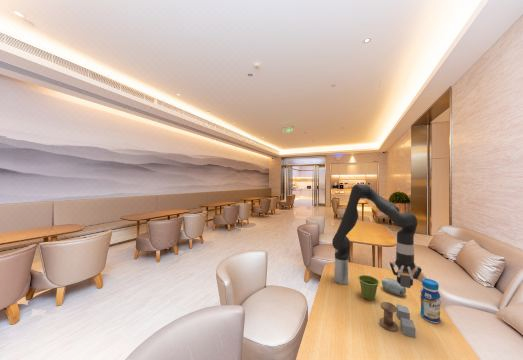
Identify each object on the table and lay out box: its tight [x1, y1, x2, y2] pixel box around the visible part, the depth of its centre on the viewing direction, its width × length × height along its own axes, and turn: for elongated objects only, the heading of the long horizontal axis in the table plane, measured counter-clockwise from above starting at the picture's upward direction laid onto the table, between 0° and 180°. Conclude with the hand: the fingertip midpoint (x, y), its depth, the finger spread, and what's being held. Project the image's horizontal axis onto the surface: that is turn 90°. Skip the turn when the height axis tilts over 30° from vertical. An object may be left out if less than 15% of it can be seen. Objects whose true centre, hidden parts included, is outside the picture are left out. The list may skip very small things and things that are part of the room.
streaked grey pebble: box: [381, 277, 407, 297], centre depth 130 cm, size 14×10×10 cm
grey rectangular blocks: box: [395, 304, 416, 339], centre depth 102 cm, size 5×18×4 cm, turn 154°
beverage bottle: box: [419, 278, 442, 324], centre depth 106 cm, size 8×8×20 cm
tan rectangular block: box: [400, 271, 411, 289], centre depth 102 cm, size 4×4×7 cm
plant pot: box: [357, 274, 380, 301], centre depth 125 cm, size 12×12×11 cm
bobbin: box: [378, 301, 399, 332], centre depth 101 cm, size 8×8×10 cm
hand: (404, 284), depth 102 cm, fingers closed on tan rectangular block, 4 cm apart
